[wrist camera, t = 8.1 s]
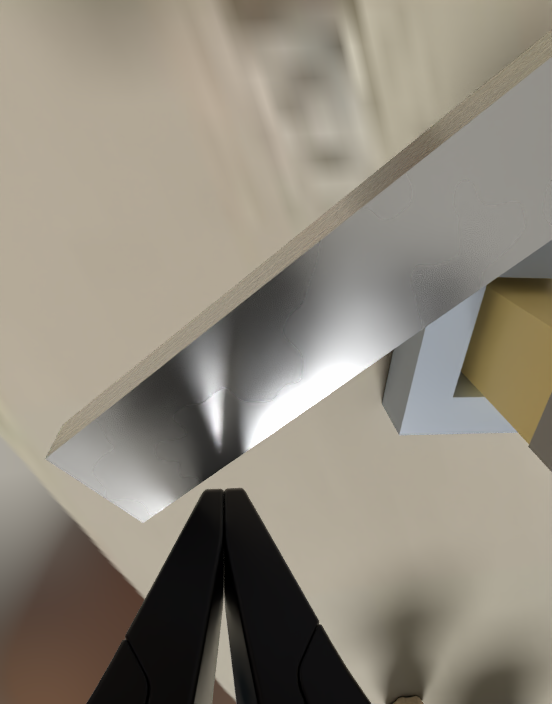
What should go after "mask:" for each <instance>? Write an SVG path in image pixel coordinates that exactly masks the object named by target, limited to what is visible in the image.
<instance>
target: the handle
mask: <svg viewBox="0 0 552 704" xmlns="http://www.w3.org/2000/svg"><path fill="white" fill-rule="evenodd" d="M393 704H424V703H423V702H422V701H421V699H420V698H419V697H417V696H413V697H409V698H405V697H401V698H398V699H397V701H396V702H395V703H393Z"/></svg>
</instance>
